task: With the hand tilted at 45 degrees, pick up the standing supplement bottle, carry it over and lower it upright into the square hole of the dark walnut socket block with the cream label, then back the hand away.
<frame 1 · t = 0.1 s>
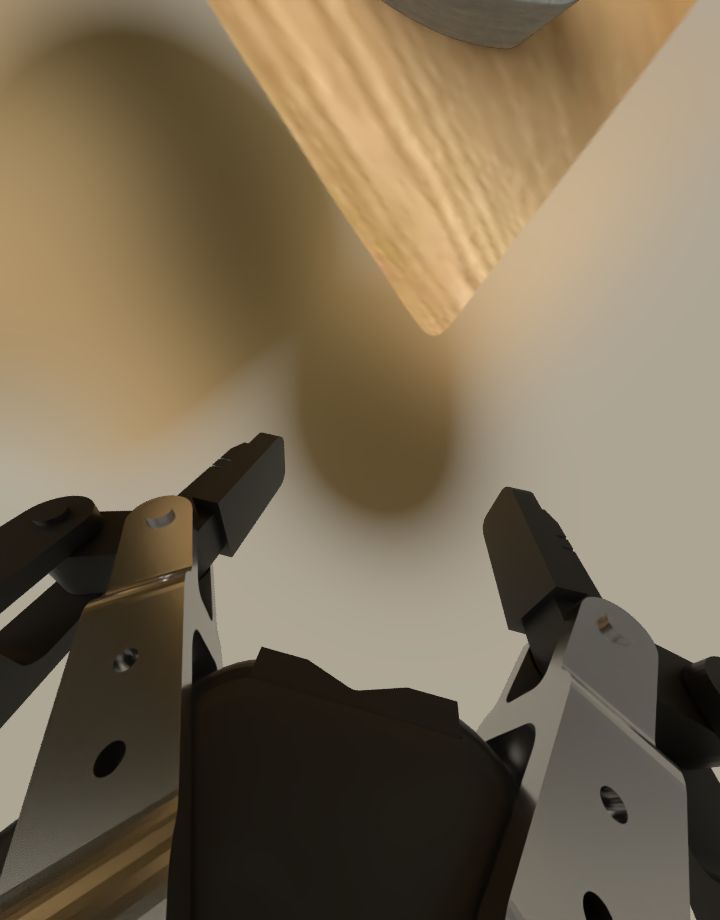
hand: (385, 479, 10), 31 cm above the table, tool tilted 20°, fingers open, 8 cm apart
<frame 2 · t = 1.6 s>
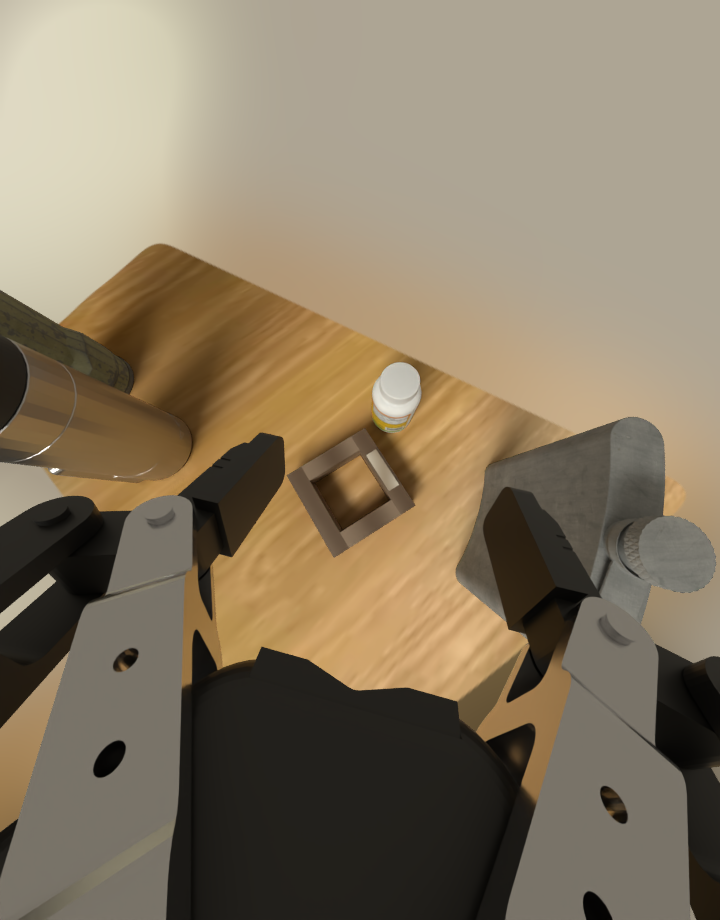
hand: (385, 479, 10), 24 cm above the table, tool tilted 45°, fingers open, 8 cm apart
hip flask: (486, 523, 32), on the table
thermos: (105, 383, 37), on the table
socket block: (351, 491, 33), on the table
supplement bottle: (391, 415, 35), on the table
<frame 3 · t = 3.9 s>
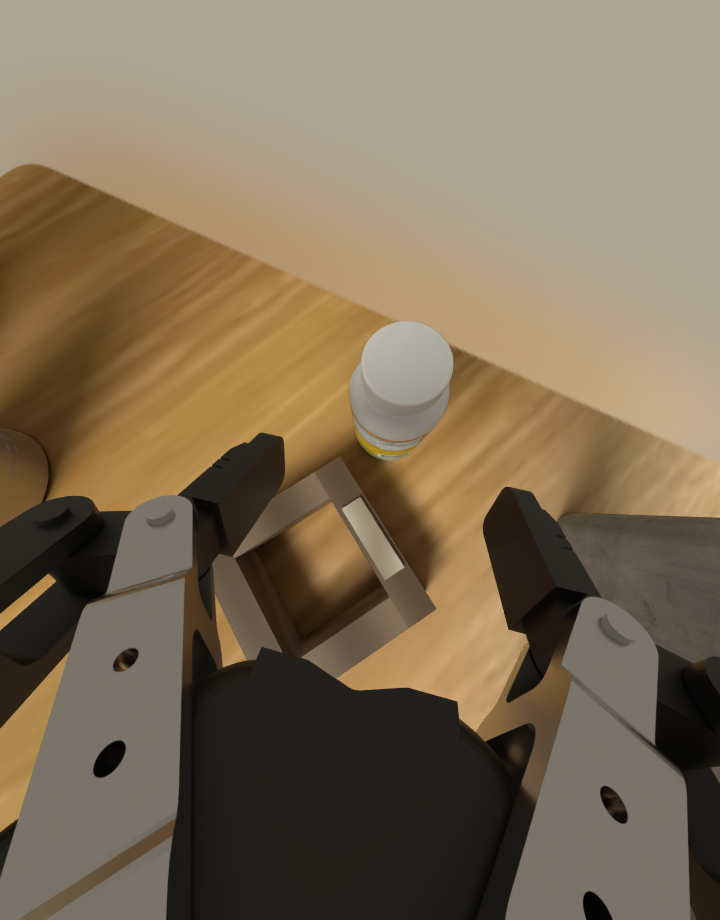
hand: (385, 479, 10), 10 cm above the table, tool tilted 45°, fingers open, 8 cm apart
hip flask: (561, 626, 18), on the table
socket block: (319, 566, 19), on the table
supplement bottle: (388, 429, 21), on the table
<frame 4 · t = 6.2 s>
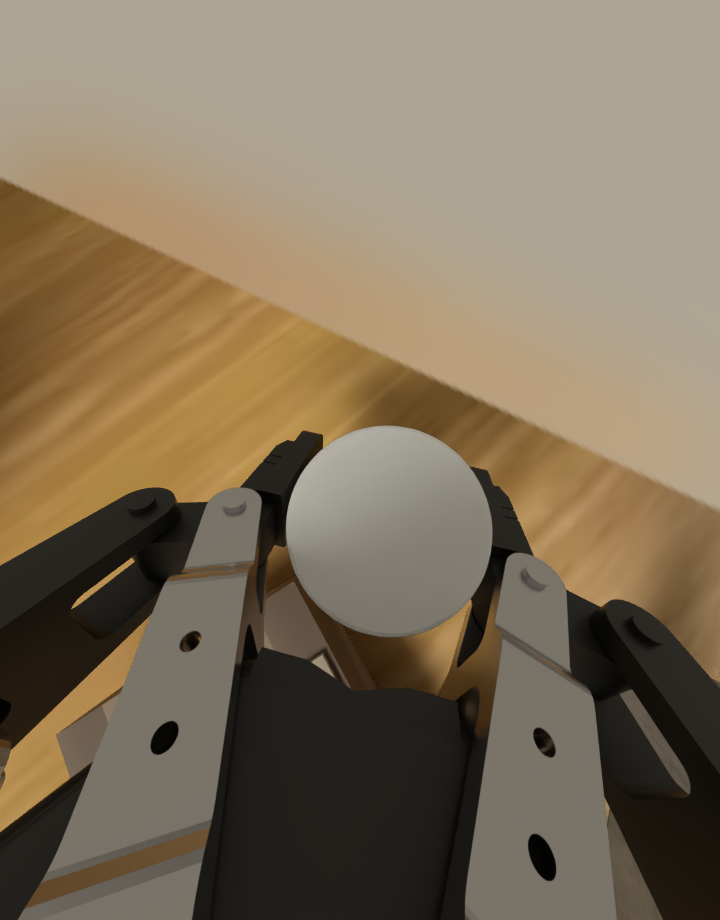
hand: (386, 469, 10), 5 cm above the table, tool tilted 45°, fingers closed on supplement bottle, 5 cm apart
hip flask: (633, 835, 12), on the table
socket block: (269, 727, 13), on the table
supplement bottle: (374, 512, 15), on the table, touching gripper
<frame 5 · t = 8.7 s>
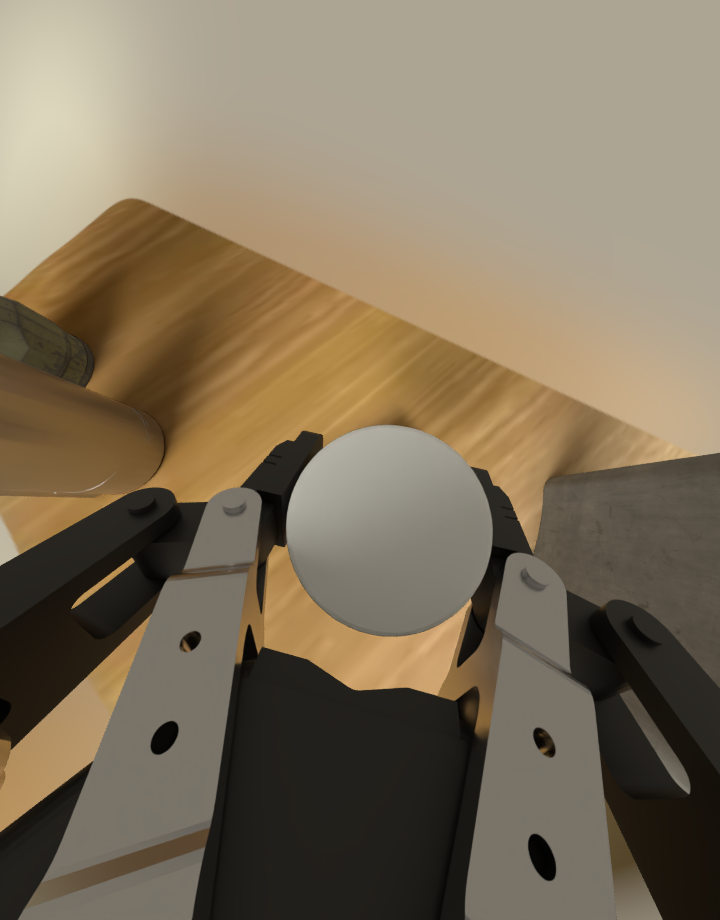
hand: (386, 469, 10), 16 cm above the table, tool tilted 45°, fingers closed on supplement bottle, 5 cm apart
hip flask: (546, 557, 25), on the table
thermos: (59, 370, 30), on the table
supplement bottle: (374, 512, 15), point 11 cm above the table, touching gripper
when the fingers open (6 cm above the table, at t = 11.6 s): supplement bottle drops 1 cm, resting in socket block.
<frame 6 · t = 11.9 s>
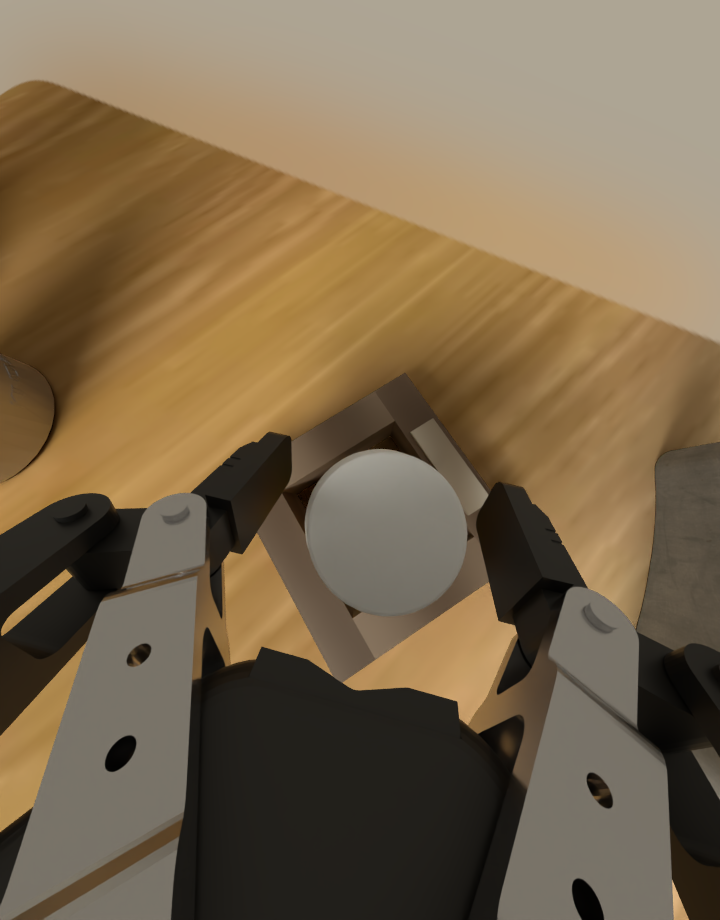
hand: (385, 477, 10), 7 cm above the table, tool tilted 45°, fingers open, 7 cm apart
hip flask: (669, 582, 15), on the table
socket block: (373, 512, 16), on the table
supplement bottle: (374, 515, 16), resting in socket block
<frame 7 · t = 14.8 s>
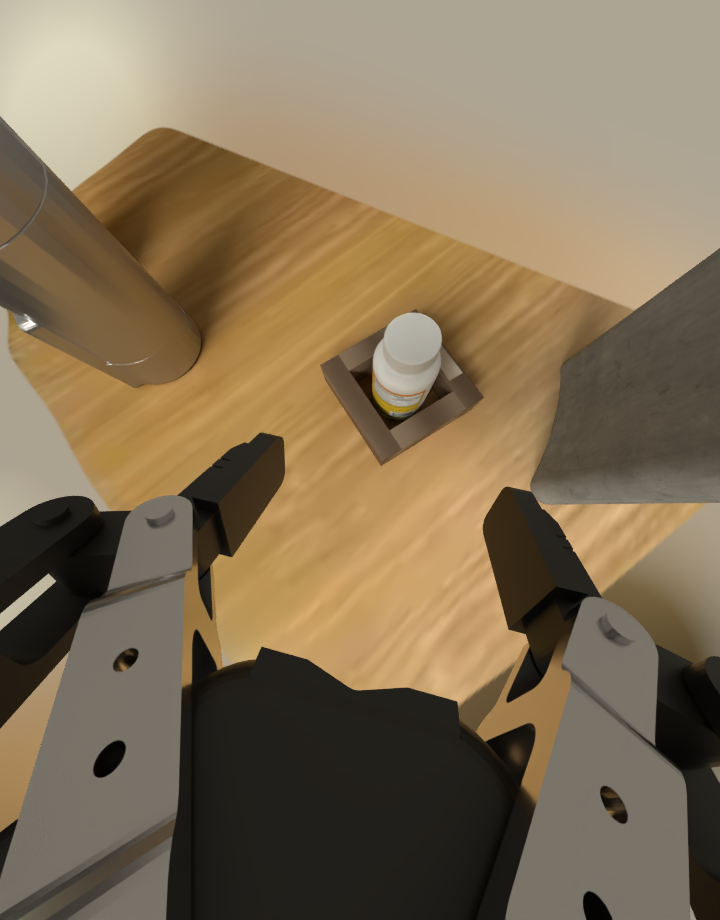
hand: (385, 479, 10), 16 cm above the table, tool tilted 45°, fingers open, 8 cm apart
hip flask: (565, 430, 26), on the table
socket block: (396, 394, 27), on the table
supplement bottle: (397, 397, 27), resting in socket block
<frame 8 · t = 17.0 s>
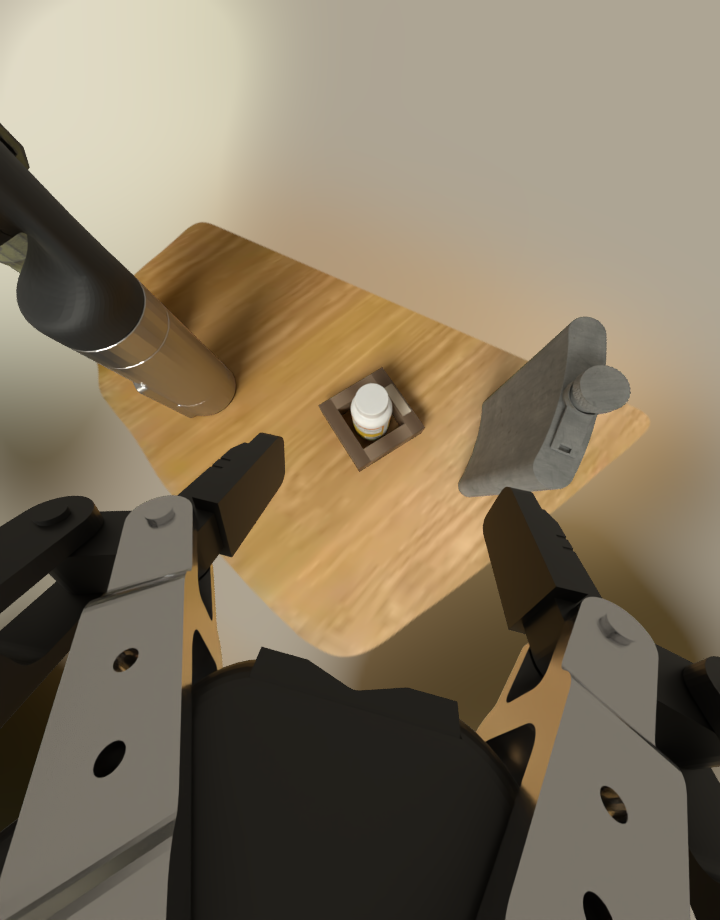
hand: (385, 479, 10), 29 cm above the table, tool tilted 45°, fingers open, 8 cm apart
hip flask: (483, 447, 39), on the table
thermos: (160, 338, 44), on the table
socket block: (370, 422, 40), on the table
supplement bottle: (371, 424, 40), resting in socket block
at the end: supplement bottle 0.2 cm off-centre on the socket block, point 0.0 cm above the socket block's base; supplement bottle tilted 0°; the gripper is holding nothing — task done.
